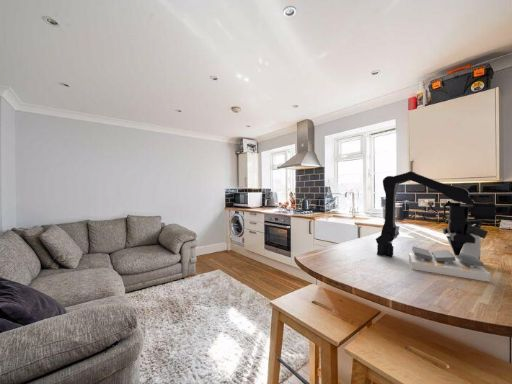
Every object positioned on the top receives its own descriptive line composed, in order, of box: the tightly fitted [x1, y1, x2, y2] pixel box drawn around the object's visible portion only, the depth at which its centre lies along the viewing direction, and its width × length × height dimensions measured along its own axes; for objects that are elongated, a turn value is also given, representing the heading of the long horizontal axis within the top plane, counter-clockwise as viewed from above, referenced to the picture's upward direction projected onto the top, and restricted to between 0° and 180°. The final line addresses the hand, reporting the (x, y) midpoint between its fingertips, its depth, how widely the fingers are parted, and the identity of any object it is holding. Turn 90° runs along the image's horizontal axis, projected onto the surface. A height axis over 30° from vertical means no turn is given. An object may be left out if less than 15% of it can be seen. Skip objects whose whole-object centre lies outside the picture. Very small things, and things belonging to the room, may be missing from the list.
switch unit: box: [408, 252, 491, 282], centre depth 90 cm, size 23×15×4 cm, turn 58°
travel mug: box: [460, 218, 482, 261], centre depth 98 cm, size 6×7×20 cm
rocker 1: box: [411, 245, 433, 260], centre depth 95 cm, size 6×11×1 cm, turn 149°
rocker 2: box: [430, 249, 457, 261], centre depth 91 cm, size 6×11×1 cm, turn 148°
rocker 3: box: [453, 252, 484, 268], centre depth 87 cm, size 6×11×1 cm, turn 149°
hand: (456, 255), depth 89 cm, fingers closed, pressing on rocker 3
